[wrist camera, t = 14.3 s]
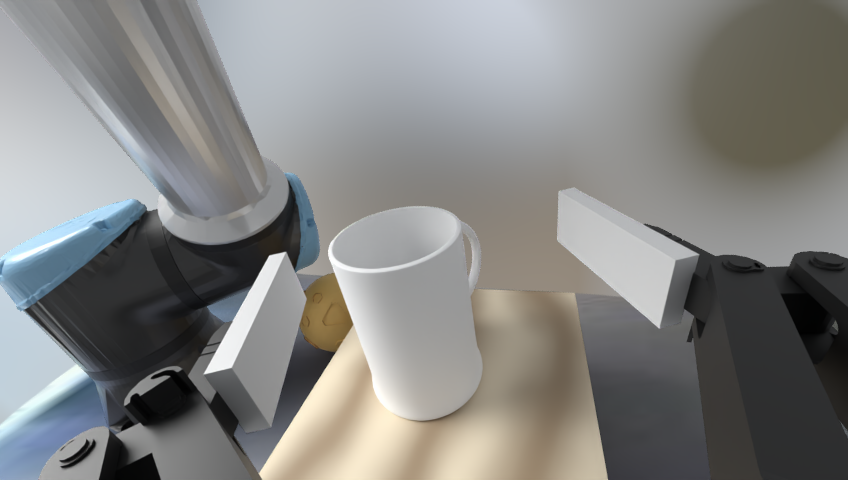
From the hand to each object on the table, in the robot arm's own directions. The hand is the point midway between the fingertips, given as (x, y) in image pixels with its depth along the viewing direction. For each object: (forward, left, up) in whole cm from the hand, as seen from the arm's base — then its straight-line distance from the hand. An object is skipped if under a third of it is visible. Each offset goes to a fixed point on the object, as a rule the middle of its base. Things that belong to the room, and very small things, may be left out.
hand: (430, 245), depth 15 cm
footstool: (-3, +1, -23) cm, 23 cm away
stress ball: (-23, -2, -23) cm, 33 cm away
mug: (-5, +2, -13) cm, 14 cm away
